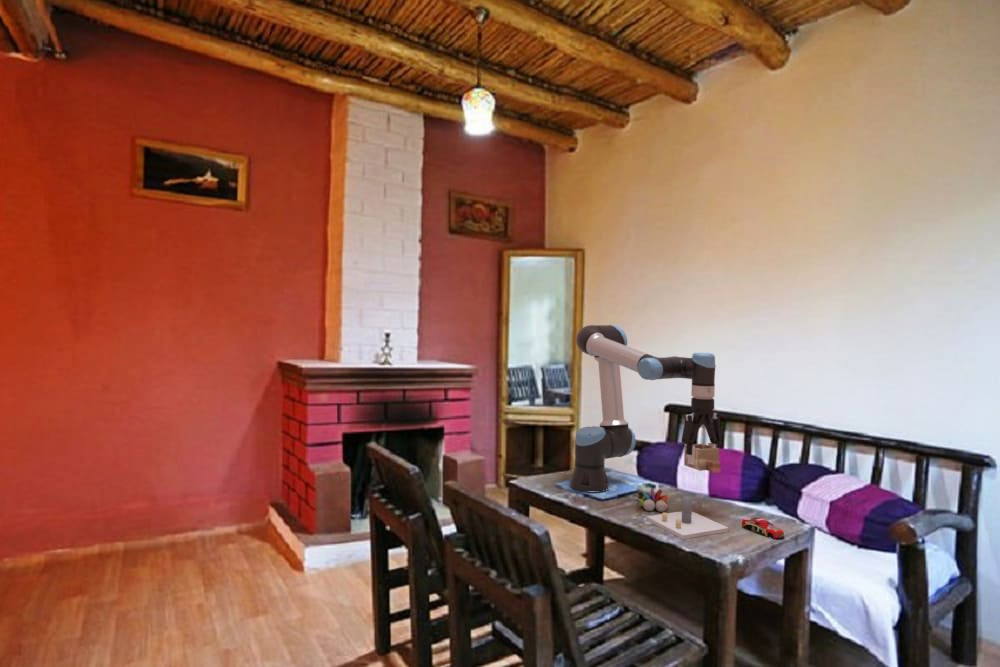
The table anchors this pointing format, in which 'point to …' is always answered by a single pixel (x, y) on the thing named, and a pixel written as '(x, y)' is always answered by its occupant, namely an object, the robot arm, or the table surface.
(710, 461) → the flange collar
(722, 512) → the table surface
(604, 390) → the robot arm
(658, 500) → the rainbow spiky toy
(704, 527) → the post board
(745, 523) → the race car
